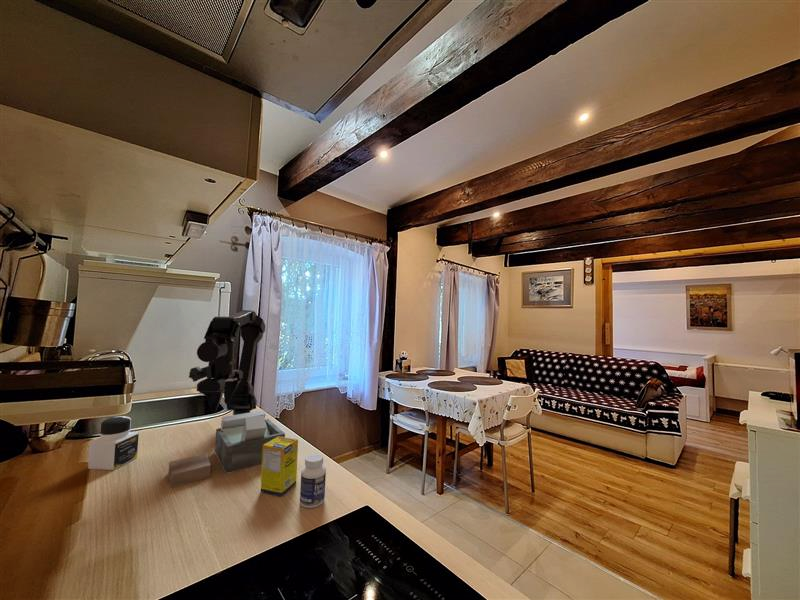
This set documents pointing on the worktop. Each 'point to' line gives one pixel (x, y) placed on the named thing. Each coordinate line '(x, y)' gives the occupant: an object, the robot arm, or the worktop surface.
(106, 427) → the medicine bottle
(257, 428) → the light grey block
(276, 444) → the supplement box
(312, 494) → the pill bottle
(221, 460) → the frame
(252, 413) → the trapdoor
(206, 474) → the walnut plinth
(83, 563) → the worktop surface
